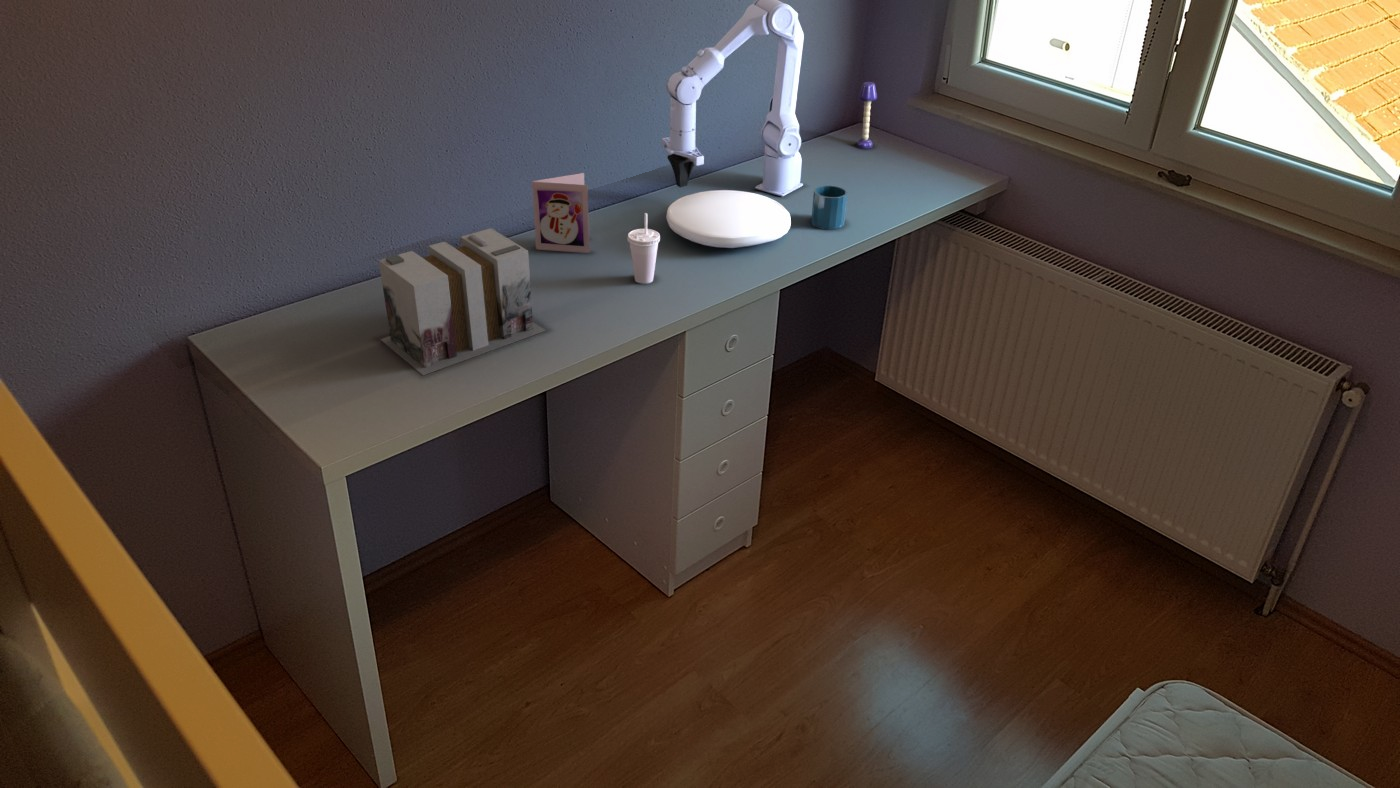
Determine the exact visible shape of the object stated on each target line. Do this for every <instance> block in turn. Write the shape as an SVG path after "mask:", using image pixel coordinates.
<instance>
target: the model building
mask: <svg viewBox="0 0 1400 788" xmlns="http://www.w3.org/2000/svg"><path fill="white" fill-rule="evenodd" d="M428 252H429V255H428V256H423V257H422V256H421V255H419V254H418V253H416V252H415V251H413V250H409V251H407V252H402V253H399V254H396V255H391V256H388V257H385V258H382V259H379V260H378V264H379V265H378V267H379V271H380V278H381V285H382V290H383V291H382V292H383V298H384V304H385V310H386V318H387V324H388V330H389V336H386V337H383V338H380V339H379V340H380V341H382V342H383V344H385V345H386V346H387V347H389V349H391V350H392V351H393V352H394V353H396V354H397V355H398V356H399V357H401V358H402V359H403V360H404V361H405V362H406V363H407V364H409V365H410V366H411V367H412V368H414V369H415V370H416V371H417V372H418V373H419V374H420V375H422V376H425V375H428V374H431V373H434V372H436V371H439V370H442V369H445V368H447V367H451V366H452V365H455V364H458V363H461V362H464V361H466V360H470V359H472V358H475V357H478V356H481V355H483V354H486V353H489V352H491V351H494V350H497V349H500V348H502V347H505V346H508V345H511V344H513V343H516V342H519V341H522V340H524V339H527V338H531V337H533V336H535V335H538V334H542V333H544V332H546V331H547V330H546V329H544V328H543V327H542V326H540V325H539V324H537V323H536V322H535V321H534V317H533V316H534V315H533V302H532V301H533V300H532V288H531V287H532V286H531V273H530V260H529V250H528V249H526V248H524V247H523V246H521V245H519V244H518V243H517V242H514V241H513V240H511V239H510V238H508V237H507V236H505V235H503V234H502V233H500V232H498V231H496V230H495V229H493V228H492V227H490V228H486V229H483V230H480V231H476V232H473V233H470V234H466V235H462V236H460V246H457V247H454V246H452V245H450V244H449V243H448V242H446V241H441V242H438V243H434V244H431V245H428Z"/></svg>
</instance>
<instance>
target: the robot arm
mask: <svg viewBox="0 0 1400 788" xmlns="http://www.w3.org/2000/svg"><path fill="white" fill-rule="evenodd" d="M770 33H771V34H772V35H773V37H774V38H776V39H777V40H778V46H777V47H778V49H777V55H776V56H777V58H776V66H775V75H774V84H773V94H772V103H771V109H770V111H769V112H768V113H767V114H766V116H765V122H764V123H763V126H762V127H761V130H760V138H761V141H762V142H763V143H764V154H763V170H762V171H763V173H762V182H761V183H760V184H758V185H756V186H754V190H758V191H761V192H766V193H769V194H772V195H775V196H779V197H785V196H787V195H788V194H790V193H792V192H794V191H796V190H797V189H799V188H801V187H803V186H804V183H802V182H801V177H802V164H803V160H802V156H801V153H800V152H799V150H800V149H801V146H802V138H801V135H800V124H799V121H798V119H797V116H796V108H797V100H798V89H799V82H800V73H801V66H802V65H801V64H802V56H803V48H804V47H803V46H804V41H805V33H804V31H803V29H802V25H801V23H800V20H799V13H798V12H797V11H796V10H795V9H794V8H793V7H792V6H791V5H789V4H787V3H785V2H783V1H780V0H755V1H754V2H753V3H751V4H750V5H748V7H746V10H745V12H744V13H743V15H742V16H741V17H740V18H739V20H738V21H737V22H736V23H735V24H734V25H733V26H732V27H731V28H730V29H729V30H728V31H727V33H726V34H724V35H723V37H722V38H721V39H720V40H719V41H718V42H717V43H716V44H715V46H713V47H705V48H704V49H699V50H698V51H697V52H696V56H695V57H694V58H693V59H692V60H691V61H690V62H689V63H688V64H687V65H686V66H683V67H682V68H681V71H678V72H677V71H676V72H674V73H673V74H672V75H671V76H670V77H669V79H668V82H667V84H665V88H666V91H667V93H668V95H670V104H669V105H670V107H669V136H668V137H662V138H661V147H662V148H665V153H667V154H669V155H667V160H668V162H669V164H670V166H671V168H672V171H673V176H674V180H675V183H676V186H677V187H679V188H684V187H687V186H688V184H689V180H690V177H691V174H692V172H693V170H694V167H695V166H696V167H698V166H703V165H704V164H705V155H703V154H702V153H701V152H700V151H699V149H698V147H697V146H696V135H697V134H696V133H697V132H696V130H697V129H696V125H697V123H696V121H697V101H699V99H700V97H701V94H702V90H703V89H704V87H705V86H706V85H707V84H708V83H710V81H711V80H712V79H714V77H715V76H716V75H717V74H719V73H720V72H721V71H722V70H723V69H724V66H725V60H726V58H728V57H729V56H730V55H731V54H732V53H733V52H735V51H736V50H738V48H740V47H741V46H742V45H743V44H744V43H745V42H746V41H748V40H749V39H750V38H751V37H753V36H767V35H770Z"/></svg>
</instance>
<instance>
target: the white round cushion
mask: <svg viewBox="0 0 1400 788" xmlns="http://www.w3.org/2000/svg"><path fill="white" fill-rule="evenodd" d="M666 222H667V224H668V226H669V228H670V229H671V230H672V231H673V232H674V233H675V234H677V235H678V236H680V237H682V238H684V239H686V240H688V241H690V242H693V243H696V244H700V245H703V246H708V247H712V248H713V247H714V248H724V249H725V248H727V249H735V248H745V247H752V246H757V245H762V244H767V243H770V242H774V241H776V240H778V239H781V238H782V237H783V236H785V235H786V234H788V232H789V230H790V229H791V226H792V225H791V224H792V220H791V213H790V212H789V211H788V210H787V209H786V208H785V207H784V205H782V204H781V203H780V202H778V201H776V200H775V199H773V198H770V197H768V196H766V195H762V194H759V193H753V192H748V191H742V190H733V189H732V190H730V189H729V190H728V189H720V190H717V189H716V190H705V191H699V192H695V193H692V194H688V195H685V196H682V197H680V198H678V199H676V200H675V201H673V202H672V203H671V204H670V205H669V206H668V207H667V210H666Z"/></svg>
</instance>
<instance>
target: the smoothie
mask: <svg viewBox="0 0 1400 788" xmlns="http://www.w3.org/2000/svg"><path fill="white" fill-rule="evenodd" d="M643 214H644V215H643V216H644V228H636V229H633V230H631V231H629V232H628V233H627V242H628V243H629V249H630V255H631V262H632V270H633V276H634V281H635V282H636V283H637V284H642V285H643V284H650V283H652V282H653V281H654V277H655V270H656V261H657V256H658V248H659V243H660V241H661V235H660V233H659V232H658V231H656V230H654V229H651V228H648V213H647V212H644V213H643Z"/></svg>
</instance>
